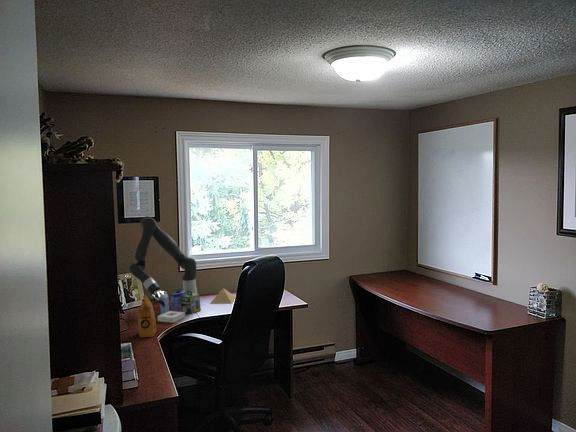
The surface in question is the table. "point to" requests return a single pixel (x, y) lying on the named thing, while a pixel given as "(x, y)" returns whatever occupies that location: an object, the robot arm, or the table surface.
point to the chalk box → (190, 302)
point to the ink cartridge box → (176, 300)
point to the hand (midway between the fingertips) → (166, 305)
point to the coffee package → (146, 319)
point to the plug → (166, 301)
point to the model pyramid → (223, 298)
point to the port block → (171, 317)
